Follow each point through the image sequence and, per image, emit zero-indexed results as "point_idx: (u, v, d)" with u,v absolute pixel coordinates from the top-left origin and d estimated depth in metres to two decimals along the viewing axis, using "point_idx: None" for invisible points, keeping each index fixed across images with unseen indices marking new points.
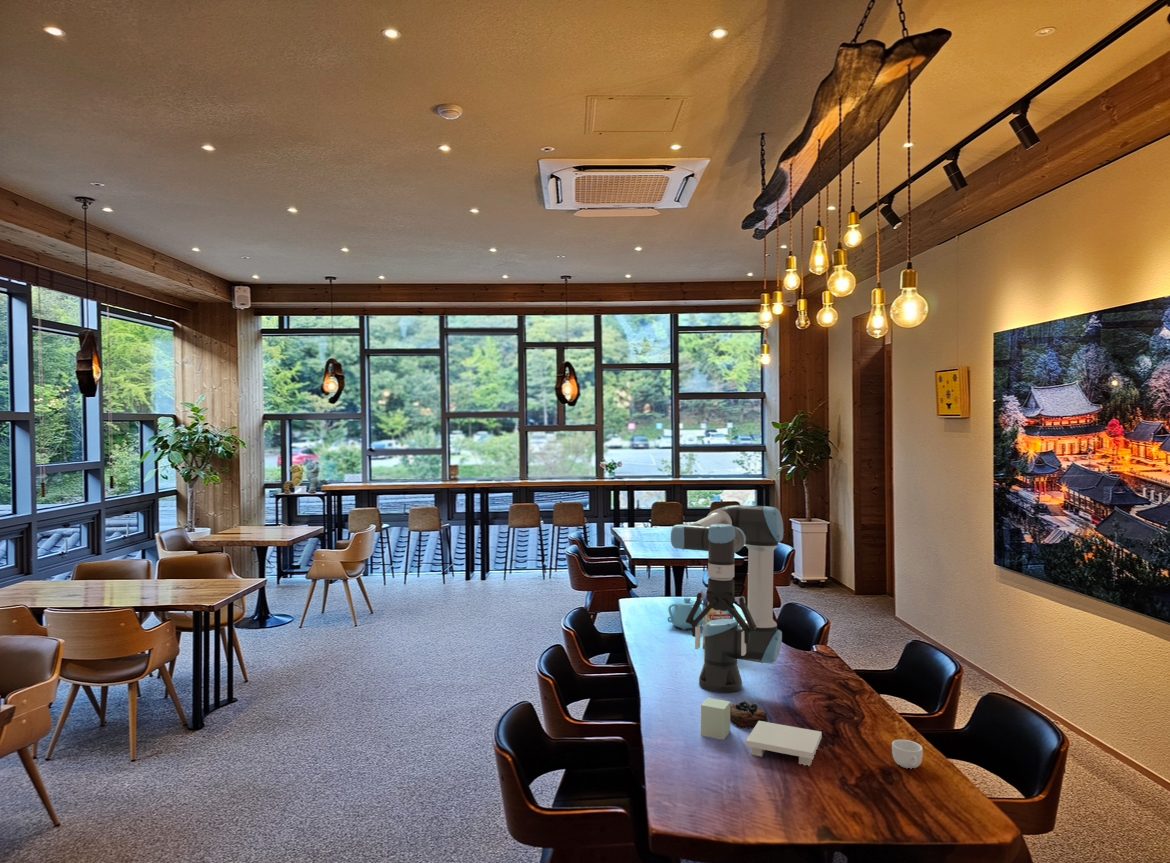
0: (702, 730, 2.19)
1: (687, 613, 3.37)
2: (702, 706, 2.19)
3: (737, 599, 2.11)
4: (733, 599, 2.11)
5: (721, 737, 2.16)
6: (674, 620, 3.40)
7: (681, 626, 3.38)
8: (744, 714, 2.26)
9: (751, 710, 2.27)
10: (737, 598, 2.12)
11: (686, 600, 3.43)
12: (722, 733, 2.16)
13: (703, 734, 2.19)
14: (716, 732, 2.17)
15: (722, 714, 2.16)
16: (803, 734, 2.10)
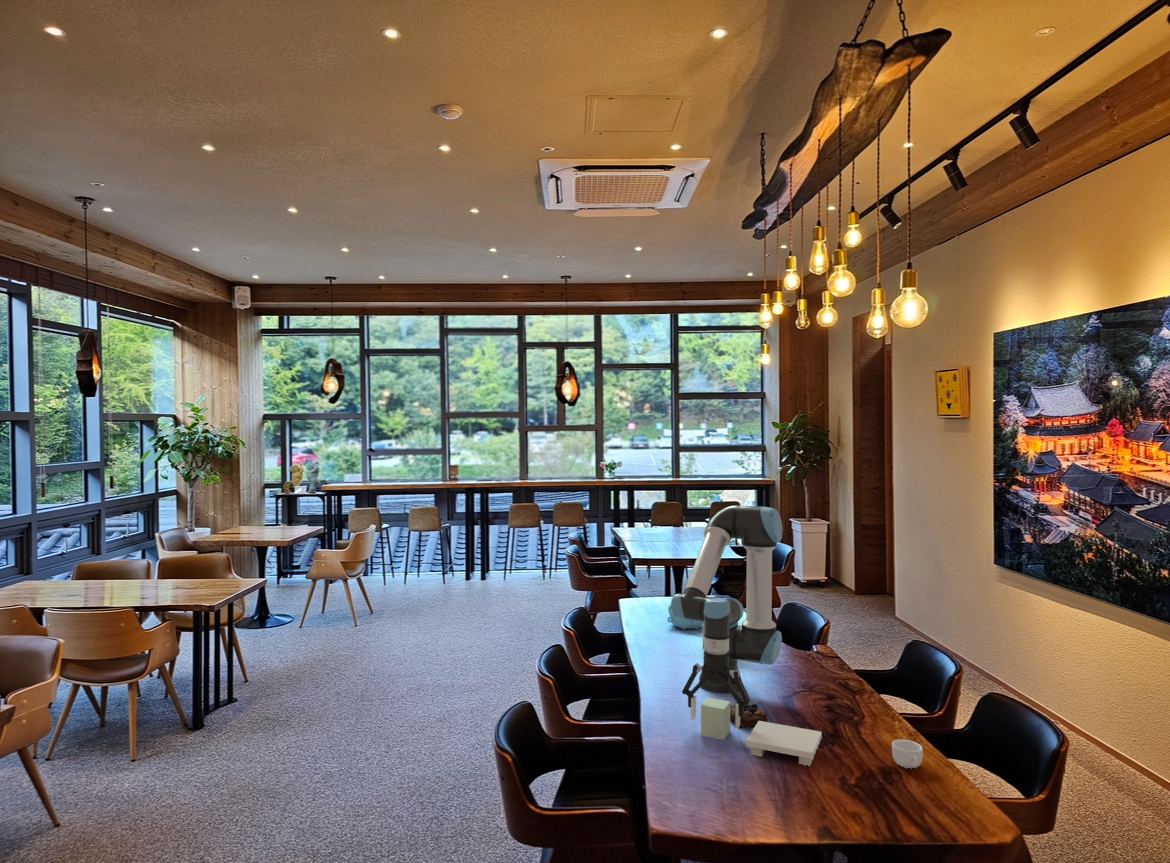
0: (702, 730, 2.19)
1: None
2: (702, 706, 2.19)
3: (732, 673, 2.18)
4: (728, 673, 2.18)
5: (721, 737, 2.16)
6: (674, 620, 3.40)
7: (681, 626, 3.38)
8: (744, 714, 2.26)
9: (751, 710, 2.27)
10: (732, 672, 2.18)
11: None
12: (722, 733, 2.16)
13: (703, 734, 2.19)
14: (716, 732, 2.17)
15: (722, 714, 2.16)
16: (803, 734, 2.10)
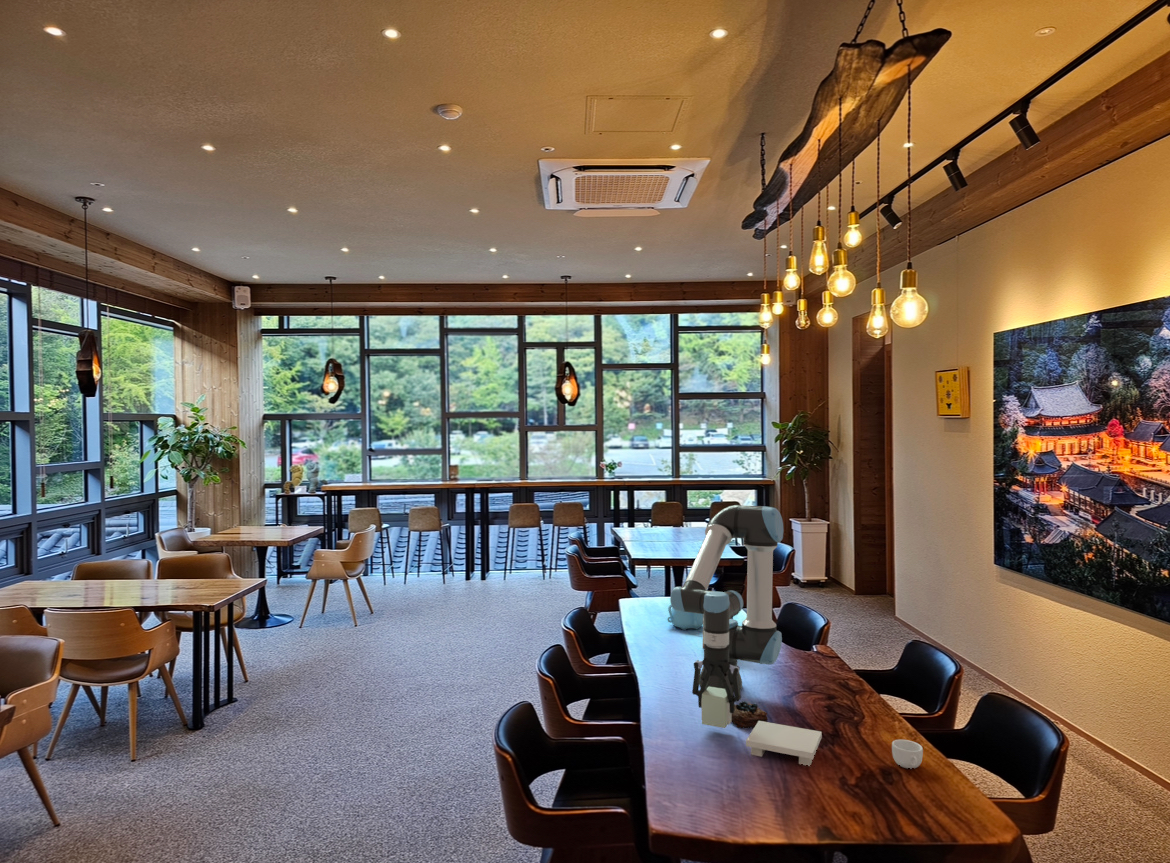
0: (703, 719, 2.20)
1: (687, 613, 3.37)
2: (703, 695, 2.20)
3: (732, 668, 2.19)
4: (728, 667, 2.19)
5: (722, 725, 2.17)
6: (674, 620, 3.40)
7: (681, 626, 3.38)
8: (744, 714, 2.26)
9: (751, 710, 2.27)
10: (732, 667, 2.19)
11: None
12: (723, 721, 2.17)
13: (704, 723, 2.20)
14: (717, 720, 2.18)
15: (723, 703, 2.17)
16: (803, 734, 2.10)
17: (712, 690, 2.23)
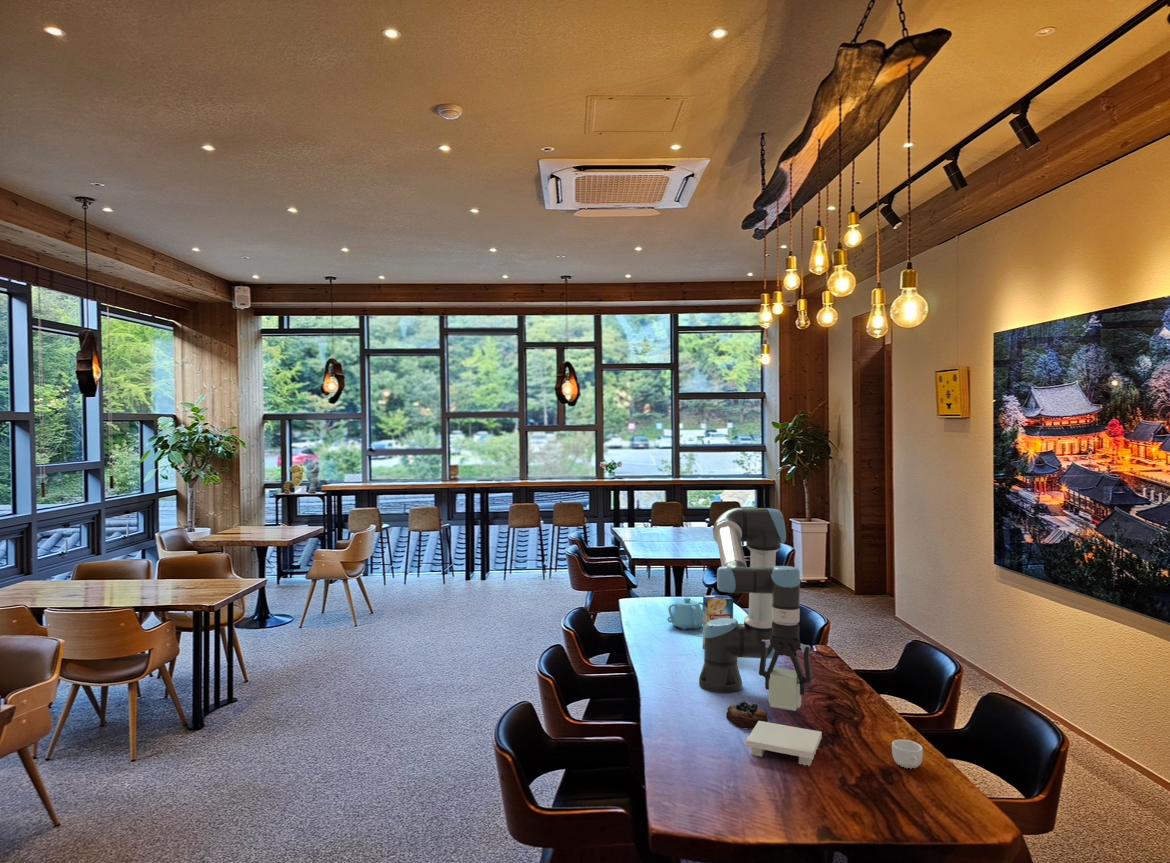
0: (771, 701, 2.06)
1: (687, 613, 3.37)
2: (771, 675, 2.06)
3: (802, 647, 2.06)
4: (799, 645, 2.06)
5: (792, 708, 2.04)
6: (674, 620, 3.40)
7: (681, 626, 3.38)
8: (744, 714, 2.26)
9: (751, 710, 2.27)
10: (803, 646, 2.06)
11: (686, 600, 3.43)
12: (793, 704, 2.04)
13: (772, 705, 2.06)
14: (787, 702, 2.04)
15: (793, 683, 2.04)
16: (803, 734, 2.10)
17: (780, 671, 2.10)
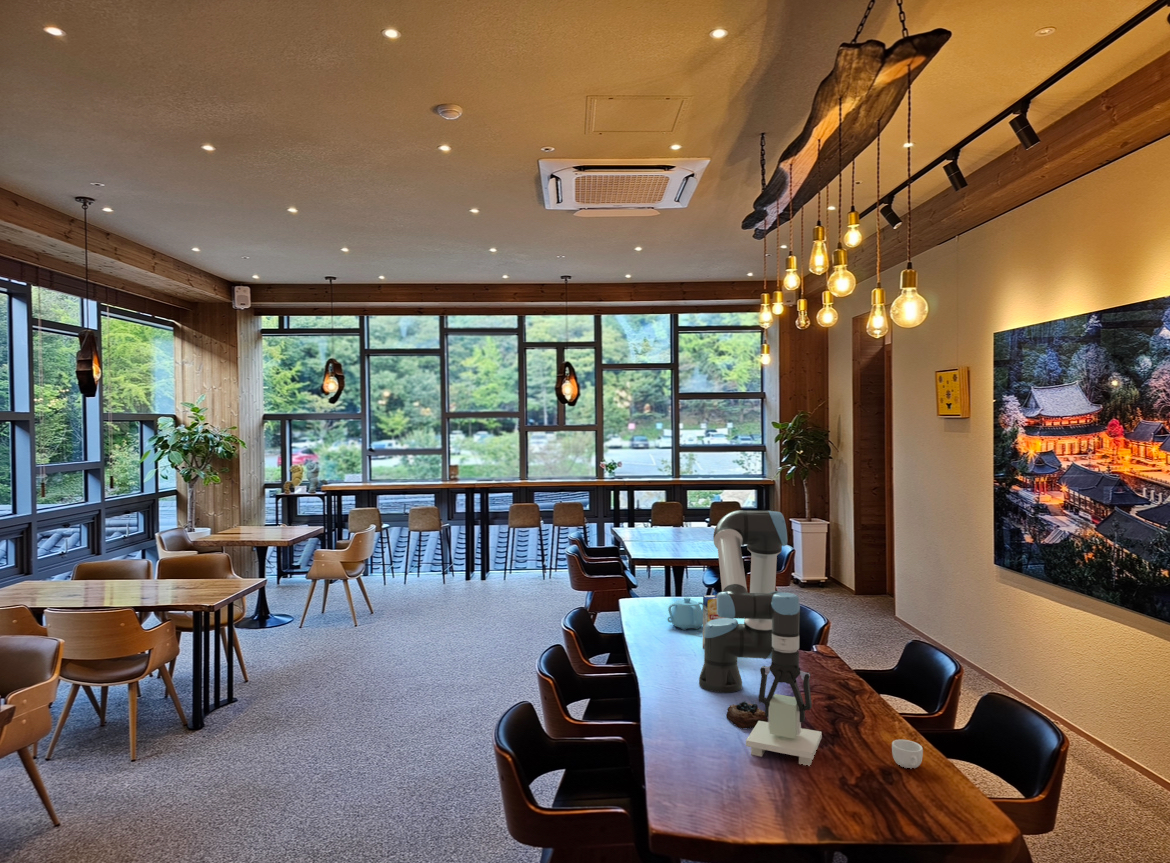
0: (771, 728, 2.06)
1: (687, 613, 3.37)
2: (771, 703, 2.06)
3: (802, 674, 2.06)
4: (798, 673, 2.06)
5: (792, 735, 2.04)
6: (674, 620, 3.40)
7: (681, 626, 3.38)
8: (745, 714, 2.26)
9: (752, 710, 2.27)
10: (802, 673, 2.06)
11: (686, 600, 3.43)
12: (793, 731, 2.04)
13: (772, 732, 2.06)
14: (786, 730, 2.04)
15: (793, 711, 2.04)
16: (803, 734, 2.10)
17: (780, 698, 2.09)
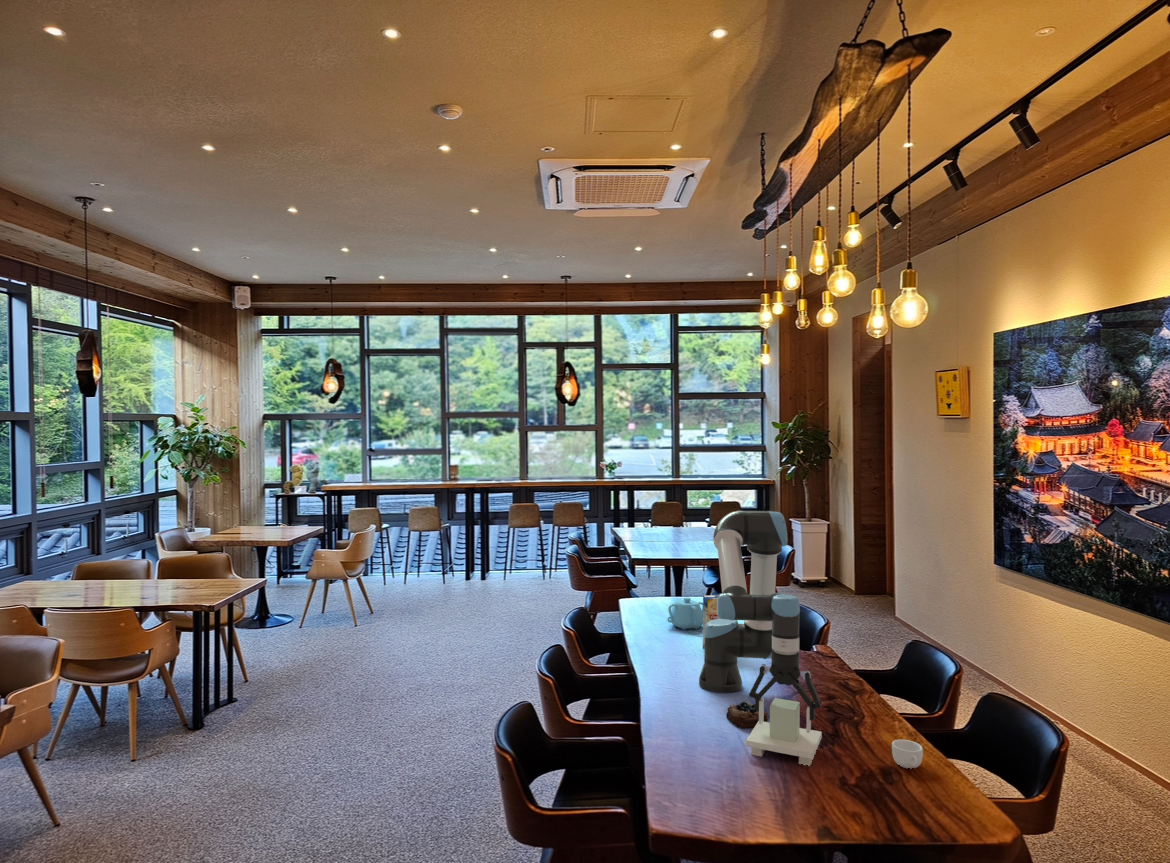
0: (771, 732, 2.06)
1: (687, 613, 3.37)
2: (771, 707, 2.06)
3: (802, 674, 2.06)
4: (798, 674, 2.06)
5: (792, 740, 2.04)
6: (674, 620, 3.40)
7: (681, 626, 3.38)
8: (745, 714, 2.26)
9: (752, 710, 2.26)
10: (802, 673, 2.06)
11: (686, 600, 3.43)
12: (793, 736, 2.04)
13: (772, 737, 2.06)
14: (786, 734, 2.05)
15: (793, 715, 2.04)
16: (803, 734, 2.10)
17: (780, 702, 2.10)
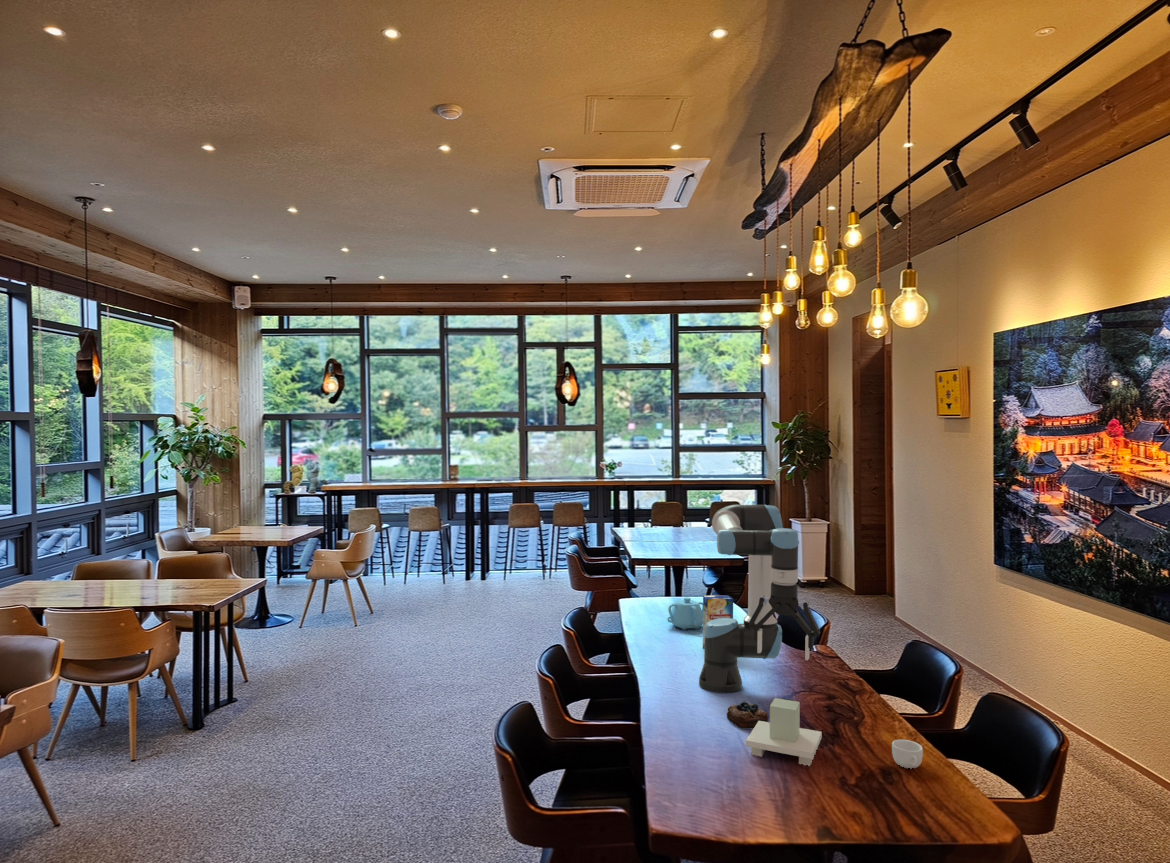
0: (771, 732, 2.06)
1: (687, 613, 3.37)
2: (771, 707, 2.06)
3: (801, 604, 2.11)
4: (797, 604, 2.11)
5: (792, 740, 2.04)
6: (674, 620, 3.40)
7: (681, 626, 3.38)
8: (745, 714, 2.25)
9: (752, 710, 2.26)
10: (801, 603, 2.11)
11: (686, 600, 3.43)
12: (793, 736, 2.04)
13: (772, 737, 2.06)
14: (786, 734, 2.05)
15: (793, 715, 2.04)
16: (803, 734, 2.10)
17: (780, 702, 2.10)
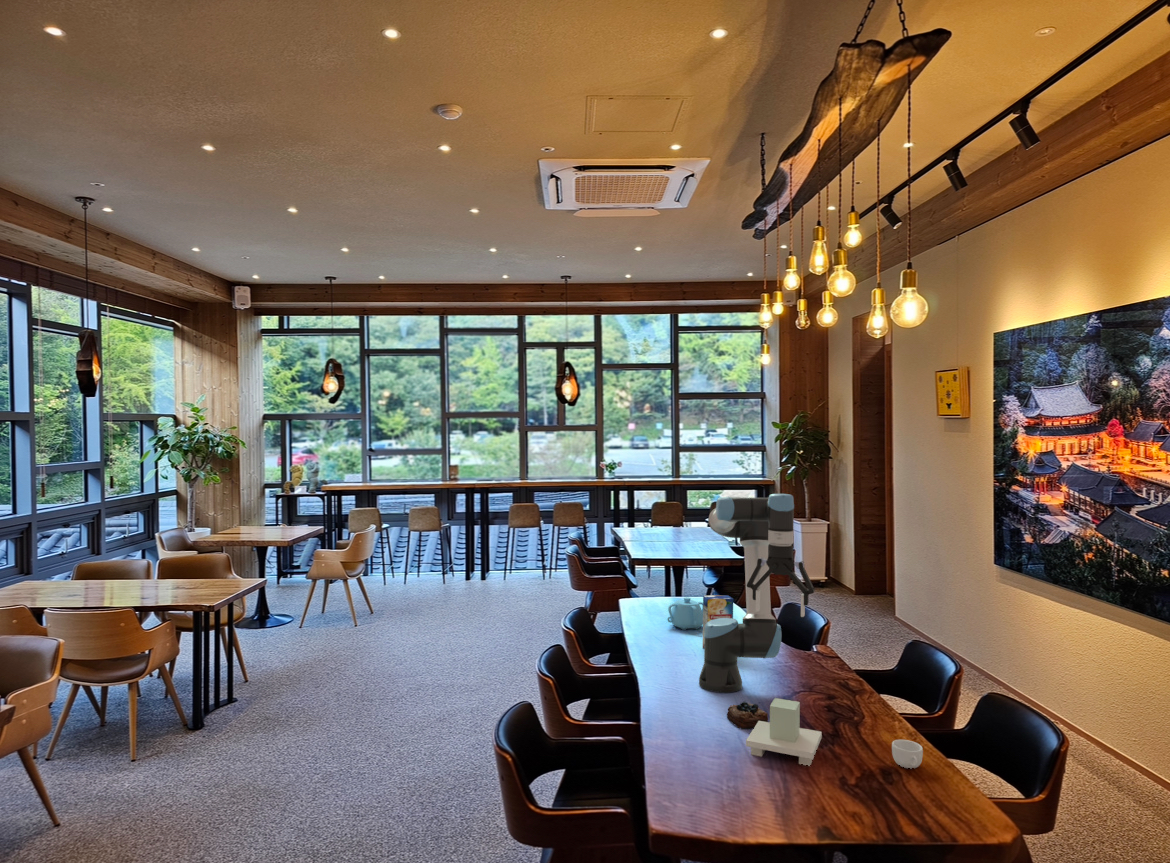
0: (771, 732, 2.06)
1: (687, 613, 3.37)
2: (771, 707, 2.06)
3: (796, 564, 2.24)
4: (793, 564, 2.24)
5: (792, 740, 2.04)
6: (674, 620, 3.40)
7: (681, 626, 3.38)
8: (745, 715, 2.25)
9: (752, 711, 2.26)
10: (796, 563, 2.24)
11: (686, 600, 3.43)
12: (793, 736, 2.04)
13: (772, 737, 2.06)
14: (786, 734, 2.05)
15: (793, 715, 2.04)
16: (803, 734, 2.10)
17: (780, 702, 2.10)
